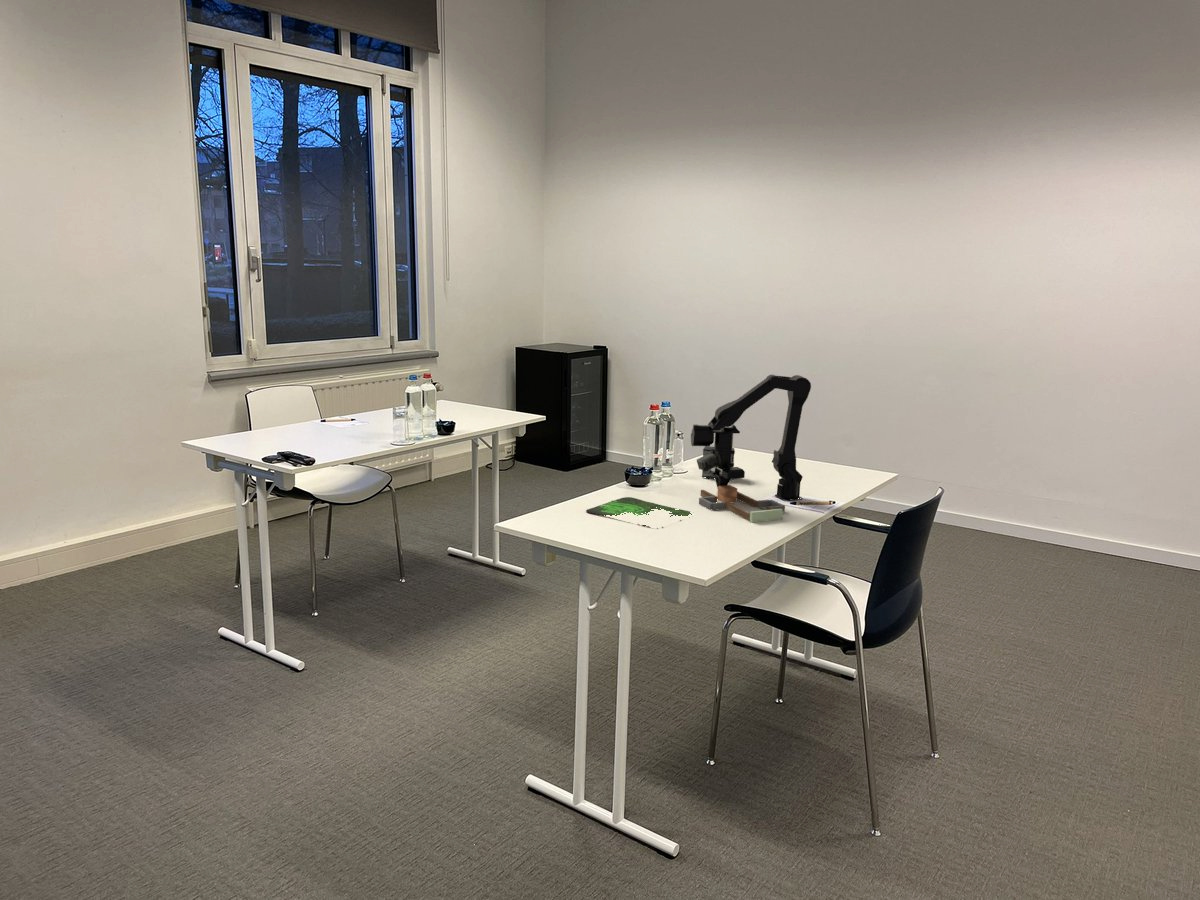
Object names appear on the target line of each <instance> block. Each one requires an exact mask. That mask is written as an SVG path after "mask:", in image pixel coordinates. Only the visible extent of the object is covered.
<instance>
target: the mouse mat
mask: <svg viewBox="0 0 1200 900" xmlns="http://www.w3.org/2000/svg"><path fill="white" fill-rule="evenodd" d="M656 507H657V508H656ZM660 508H661V509H664V510H666V511H670V512H672V513H669V514H673V515H675V516H676V515H678V516H681V515H682V516H688V515H689V514H691V513H690V512H691V511H690V510H685V509H681V508H678V509H679V510H675V509H677V508H674V507H671V506H668V505H667V506H666V505H663V504H658V503H654V502H650V501H646V500H642V499H639V498H635V497H632V496H631V497H629V496H628V497H627V496H625V497H621V498H617V499H614V500H611V501H609V502H606V503H603V504H600V505H597V506H594V507H591V508H587V509H586V510H585V512H587V513H589V514H591V513H592V514H591V515H595V514H597V515H596V516H598V515H602V516H604V515H605V516H606V515H610V516H612V515H615V514H616V515H615V516H617V515H620V514H621V513H624V512H627V513H629V512H630V513H631V512H632V513H633V514H634V515H636V514H638V515H643V514H646V515H647V513H648V512H650V511H654V510H651V509H658V510H661V509H660ZM645 512H646V513H645ZM635 513H636V514H635ZM641 513H643V514H641ZM624 514H626V513H624ZM622 515H623V514H622ZM638 515H637V516H638ZM648 515H649V514H648ZM673 515H671V516H673ZM691 515H692V514H691ZM602 516H601V517H602ZM671 516H670V517H671ZM645 526H646V525H643V526H642V527H645Z"/></svg>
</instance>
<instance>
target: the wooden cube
mask: <svg viewBox="0 0 1200 900" xmlns="http://www.w3.org/2000/svg"><path fill="white" fill-rule="evenodd" d="M737 491H738V487H735V486H733V485H731V484H728V485H724V486H718V489H717V495H716V496H717V499H718V500H717V501H719V502H729V503H730V502H733V503H737V501H738V499H737Z"/></svg>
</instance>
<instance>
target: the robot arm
mask: <svg viewBox="0 0 1200 900" xmlns="http://www.w3.org/2000/svg"><path fill="white" fill-rule="evenodd" d="M775 389H777V390H784V391H787V398H788V399H787V400H788V405H787V412H786V417H785V422H784V428H783V433H782V434H783V435H782V440H781V445H780V447H779V448H778V450H773V458H772V460H771V463H772V464H773V465H772V466H773V469H774V470H775V471H776V473H778V476H779V477H780V478H778V483H777V486H776V487H777V488H776V493H775V495H774V496H775V497H776V496H777V497H776V498H778V497H779V499H781V498H782V499H781V500H783V499H784V500H783V501H785V500H789V501H791V500H790V499H798V498H799V499H800V498H802V499H803V497H802V496H800V495H801V494H800V493H801V482H802V481H803V477H804V476H803V475H802V474H801V473H800V472H799V471H798V470H797V455H796V444H797V439H798V433H799V428H800V422H801V418H802V417H801V416H802V412H803V406H804V404H805V403H806V401H807V400H808V398H809V395H810V392H811V389H812V383H811V382H810V380H809V379H808V378H806V377H804V376H802V375H799V374H795V375H793V376H783V375H775V374H768V375H767V376H766V378H764V379H763V380H762V381H760V382H759V383H758V384H756V385H754V386H753V387H752V388H751V389H749V390H747V392H745V393H744V394H743V395H741V396H740V397H738V398H737V399H735V400H732V401H731V402H727V403H725V404H723V405H721V406H719V407H718V408H717V409H716V410H715V412H714V416H713V418H711V420H710V421H709V423H708V424H705V425H704V424H693V425H692V429H691V433H690V445H691V446H692V447H705V446H710V447H711V445H713V444H714V446H713V447H714V448H712V450H711V453H710V454H708V455H705V456H703V455H702V456H701V457H699V458H697V459H696V463H697V466H698V470H701V471H702V470H703V471H708V470H709V469H711V471H709V472H710V473H711V474H712V475H713V476H714V477H715V479H714V481H715V484H716V489H717V490H718V486H724V485H729V483H730V482H731V481H732V480H737V479H738V480H739V479H745V477H746V475H745V474H746V471H745V470H744V469H743V468H741V467H739V466H735V462H734V463H732V454H734V455H735V453H736V450H735V449H734V450H732V448H734V447H733V446H734V445H733V444H734V434H740V433H741V431H740V430H738V428H737V426H736V425H735V423H736V422H737V421H738V420H740V418H741V417H742V415H743V414H744V413H745V412H746V411H747V409H749V408H750V407H752V406H753V405H755V404H756V403H758V401H760V400H762V399H763V398H764V397H765V396H767V395H768V394H770V393H771V392H772V391H774V390H775ZM731 466H733V467H731ZM731 479H732V480H731ZM800 500H801V499H800Z"/></svg>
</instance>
